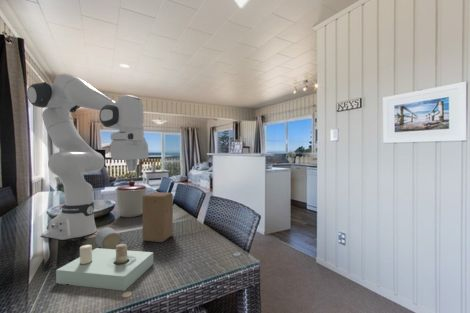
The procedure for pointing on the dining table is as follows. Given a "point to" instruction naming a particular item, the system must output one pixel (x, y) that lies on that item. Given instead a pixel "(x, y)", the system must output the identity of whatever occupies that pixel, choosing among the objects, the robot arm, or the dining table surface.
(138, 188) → the canister
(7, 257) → the dining table surface
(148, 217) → the wooden block
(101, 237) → the ceramic mug
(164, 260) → the dining table surface
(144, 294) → the dining table surface
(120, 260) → the peg
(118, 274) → the board
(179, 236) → the dining table surface
